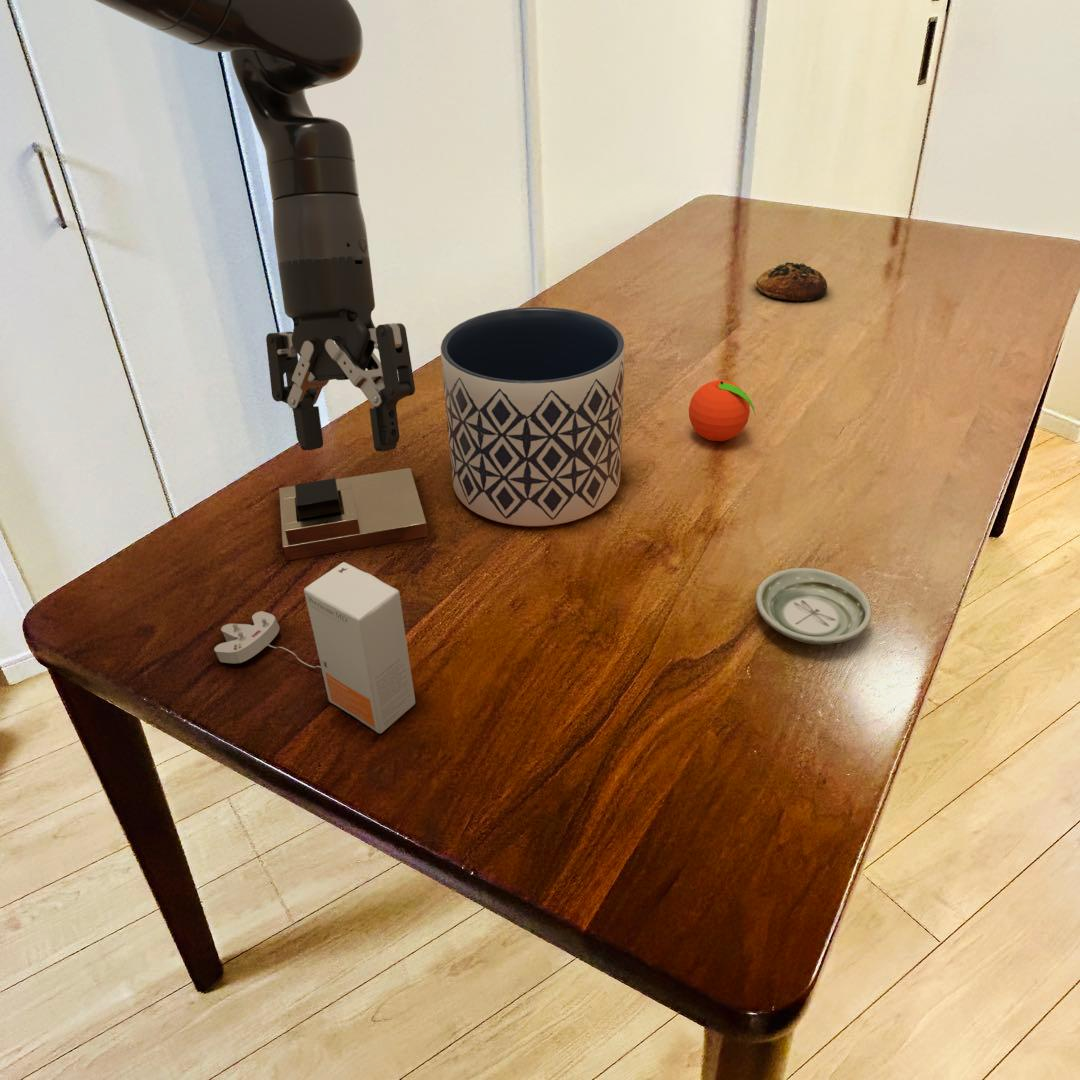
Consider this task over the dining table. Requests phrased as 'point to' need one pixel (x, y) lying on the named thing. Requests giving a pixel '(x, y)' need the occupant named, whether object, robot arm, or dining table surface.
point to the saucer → (813, 606)
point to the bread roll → (792, 282)
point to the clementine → (719, 410)
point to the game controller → (248, 639)
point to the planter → (534, 413)
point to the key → (317, 499)
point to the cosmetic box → (361, 645)
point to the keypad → (356, 516)
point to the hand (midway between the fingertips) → (348, 449)
